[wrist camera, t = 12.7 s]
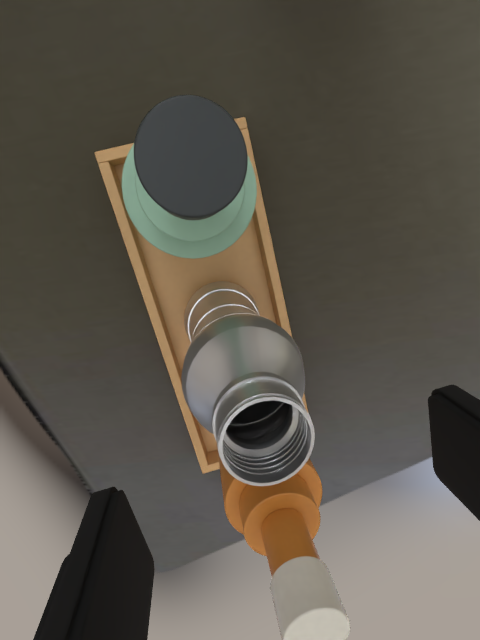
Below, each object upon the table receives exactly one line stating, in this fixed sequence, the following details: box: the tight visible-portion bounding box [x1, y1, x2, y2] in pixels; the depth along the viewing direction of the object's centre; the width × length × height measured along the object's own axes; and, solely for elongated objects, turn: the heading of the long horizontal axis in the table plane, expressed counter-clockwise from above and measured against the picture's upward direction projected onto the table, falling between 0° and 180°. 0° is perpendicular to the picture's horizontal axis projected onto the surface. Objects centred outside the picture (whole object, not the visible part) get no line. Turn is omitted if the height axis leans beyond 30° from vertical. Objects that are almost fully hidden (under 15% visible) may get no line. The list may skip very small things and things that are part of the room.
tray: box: [95, 117, 308, 474], centre depth 31 cm, size 30×12×3 cm, turn 14°
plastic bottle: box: [181, 281, 315, 486], centre depth 22 cm, size 6×7×20 cm
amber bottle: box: [217, 448, 350, 640], centre depth 24 cm, size 6×6×20 cm
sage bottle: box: [122, 95, 257, 259], centre depth 19 cm, size 6×6×20 cm
